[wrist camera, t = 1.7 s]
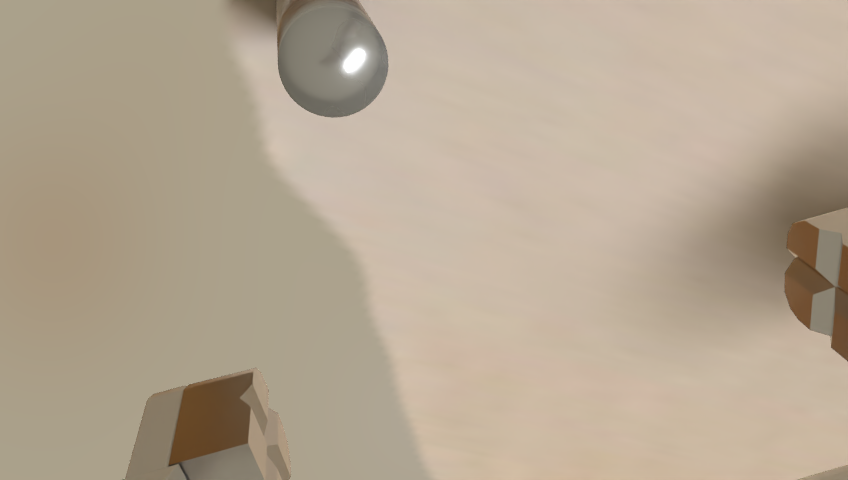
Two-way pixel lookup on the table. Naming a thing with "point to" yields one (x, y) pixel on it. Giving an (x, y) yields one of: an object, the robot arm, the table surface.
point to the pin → (329, 55)
